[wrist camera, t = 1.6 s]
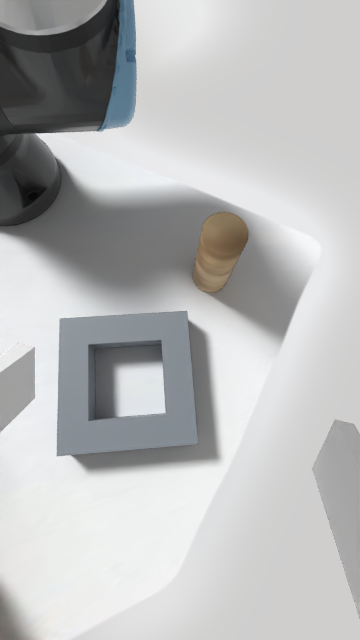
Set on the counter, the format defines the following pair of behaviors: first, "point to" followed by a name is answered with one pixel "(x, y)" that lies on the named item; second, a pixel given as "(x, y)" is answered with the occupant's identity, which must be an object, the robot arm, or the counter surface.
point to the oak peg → (218, 250)
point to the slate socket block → (79, 384)
